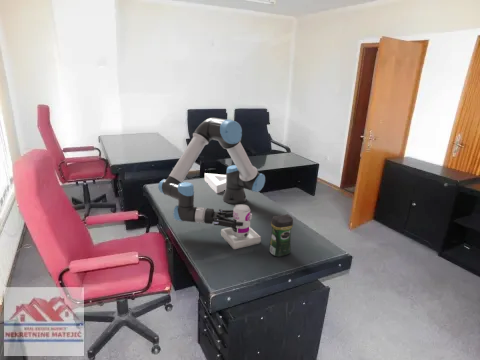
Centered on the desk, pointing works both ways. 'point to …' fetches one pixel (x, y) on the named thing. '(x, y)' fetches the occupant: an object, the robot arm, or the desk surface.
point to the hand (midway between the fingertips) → (251, 220)
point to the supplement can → (241, 214)
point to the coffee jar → (281, 235)
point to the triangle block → (216, 182)
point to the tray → (240, 242)
